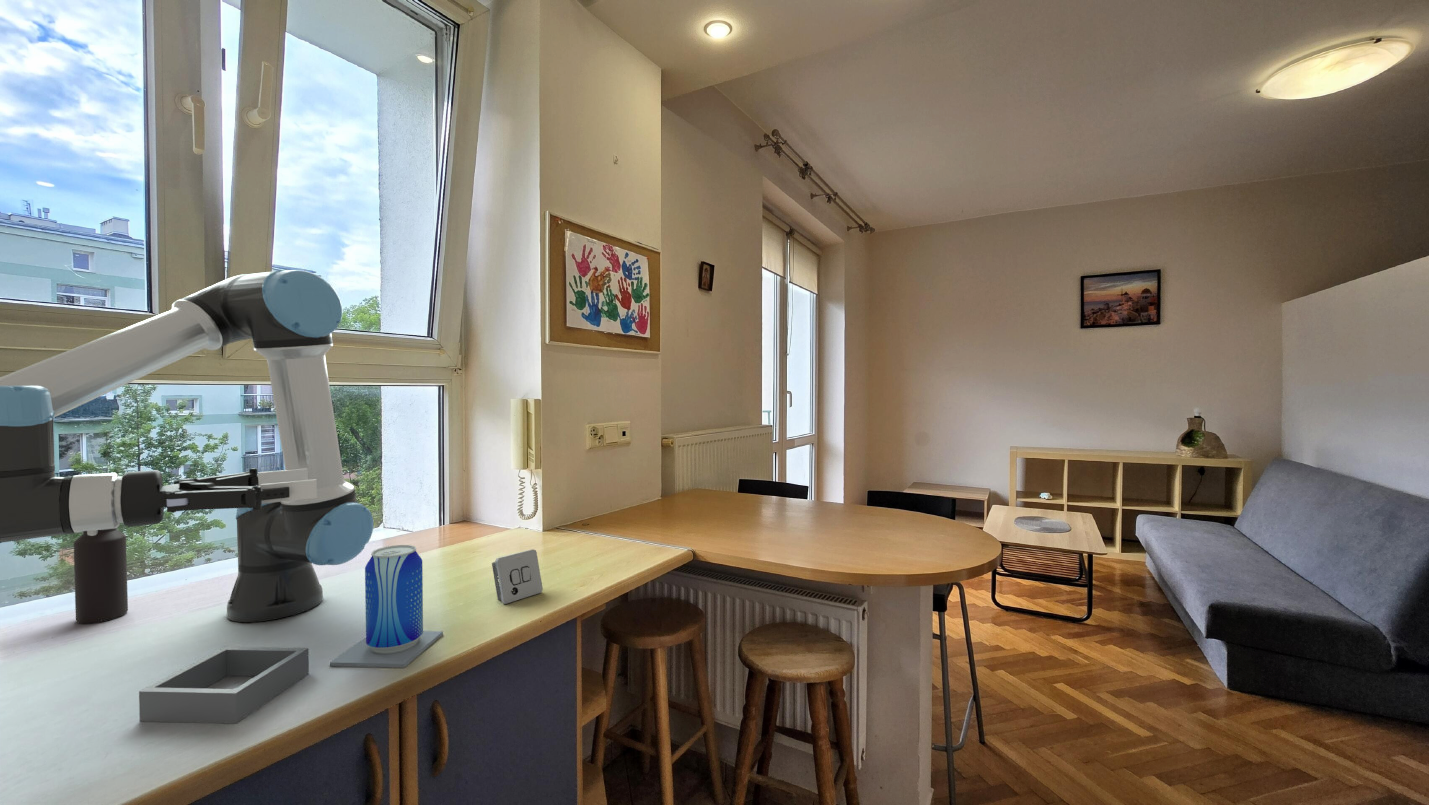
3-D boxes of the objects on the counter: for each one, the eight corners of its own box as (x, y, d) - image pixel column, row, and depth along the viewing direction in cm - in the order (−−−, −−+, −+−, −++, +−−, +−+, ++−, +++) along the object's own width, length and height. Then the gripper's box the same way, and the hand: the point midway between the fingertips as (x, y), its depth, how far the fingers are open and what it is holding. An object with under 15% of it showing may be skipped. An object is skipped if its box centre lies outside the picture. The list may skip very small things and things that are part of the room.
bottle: (76, 617, 110) (73, 512, 109) (127, 607, 115) (124, 507, 114) (75, 627, 105) (72, 518, 104) (128, 617, 110) (126, 512, 109)
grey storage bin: (139, 721, 76) (138, 691, 76) (226, 672, 89) (225, 646, 89) (236, 723, 76) (235, 693, 76) (308, 673, 89) (308, 648, 89)
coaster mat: (329, 666, 91) (329, 662, 91) (376, 633, 103) (376, 630, 103) (404, 667, 91) (404, 663, 91) (442, 634, 103) (442, 631, 103)
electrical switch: (503, 606, 116) (501, 559, 117) (490, 602, 120) (487, 557, 120) (543, 593, 124) (541, 549, 124) (529, 590, 127) (527, 547, 127)
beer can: (374, 636, 100) (373, 545, 100) (427, 631, 103) (426, 541, 102) (358, 658, 92) (357, 559, 92) (416, 652, 94) (416, 555, 94)
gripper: (135, 511, 88) (305, 493, 102) (108, 548, 69) (321, 520, 83) (133, 462, 88) (303, 451, 102) (105, 485, 69) (320, 468, 82)
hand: (312, 482), depth 92 cm, fingers open, 13 cm apart
